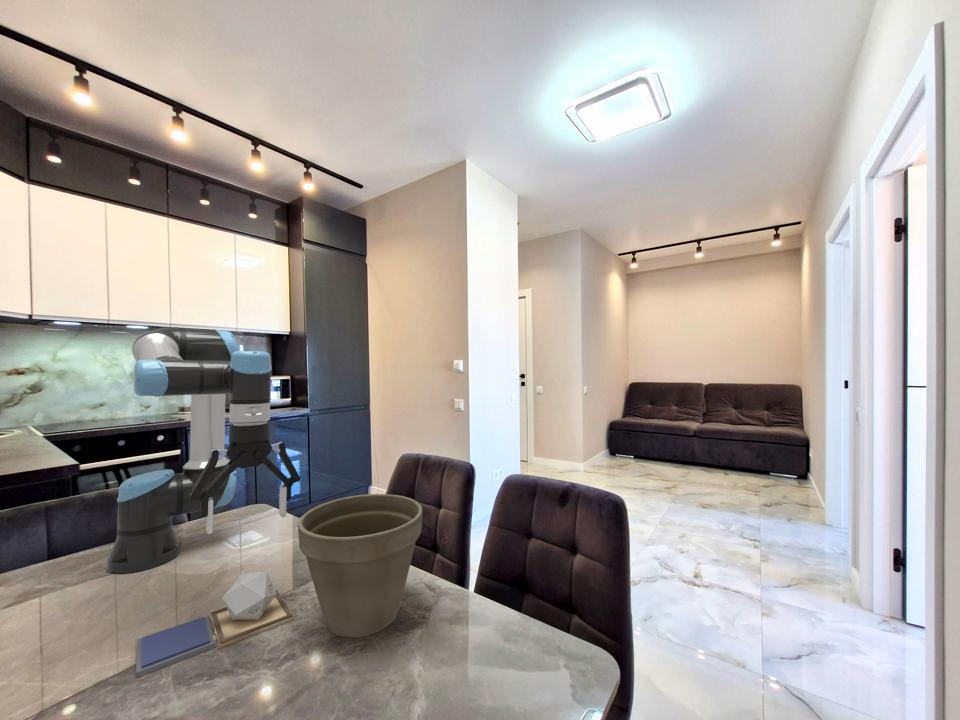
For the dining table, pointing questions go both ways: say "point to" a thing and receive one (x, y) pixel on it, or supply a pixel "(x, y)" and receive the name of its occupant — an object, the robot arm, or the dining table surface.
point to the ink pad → (173, 645)
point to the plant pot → (360, 558)
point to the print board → (249, 622)
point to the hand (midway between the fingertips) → (247, 523)
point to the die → (249, 596)
